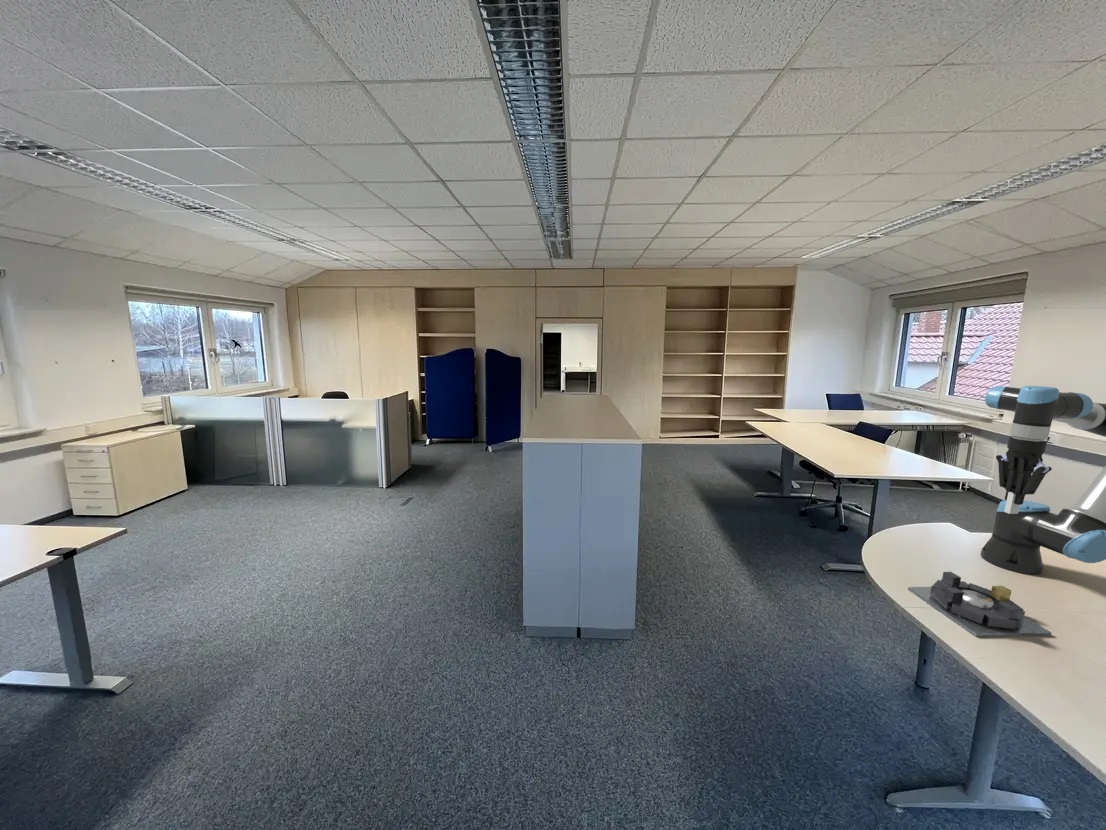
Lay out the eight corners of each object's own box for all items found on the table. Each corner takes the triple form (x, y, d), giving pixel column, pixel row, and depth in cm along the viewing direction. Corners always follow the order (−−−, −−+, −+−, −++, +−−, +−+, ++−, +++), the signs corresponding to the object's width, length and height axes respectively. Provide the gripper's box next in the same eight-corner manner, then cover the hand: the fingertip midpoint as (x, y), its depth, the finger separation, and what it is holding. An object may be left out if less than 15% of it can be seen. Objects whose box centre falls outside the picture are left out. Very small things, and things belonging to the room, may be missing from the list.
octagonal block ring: (1027, 611, 120) (1031, 594, 119) (1013, 637, 110) (1018, 618, 109) (942, 580, 135) (945, 565, 134) (923, 600, 125) (926, 583, 124)
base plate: (971, 589, 133) (974, 576, 132) (1050, 635, 113) (1054, 620, 112) (907, 589, 133) (910, 577, 132) (975, 636, 112) (978, 621, 111)
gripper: (1067, 443, 117) (1048, 521, 122) (1015, 433, 130) (999, 504, 134) (1041, 443, 117) (1023, 522, 121) (992, 433, 130) (977, 504, 134)
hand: (1011, 512), depth 128 cm, fingers closed
